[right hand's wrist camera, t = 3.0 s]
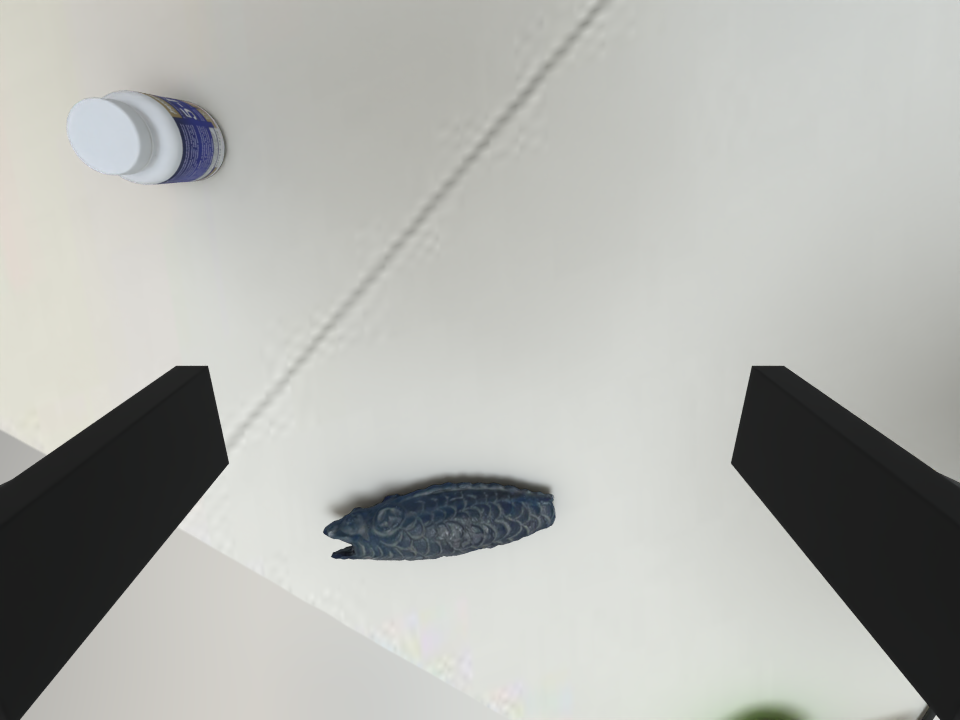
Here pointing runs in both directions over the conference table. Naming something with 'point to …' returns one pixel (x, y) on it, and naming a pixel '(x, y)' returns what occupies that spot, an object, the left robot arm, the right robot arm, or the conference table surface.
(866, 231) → the conference table surface
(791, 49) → the conference table surface
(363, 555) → the fish model
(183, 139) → the pill bottle
